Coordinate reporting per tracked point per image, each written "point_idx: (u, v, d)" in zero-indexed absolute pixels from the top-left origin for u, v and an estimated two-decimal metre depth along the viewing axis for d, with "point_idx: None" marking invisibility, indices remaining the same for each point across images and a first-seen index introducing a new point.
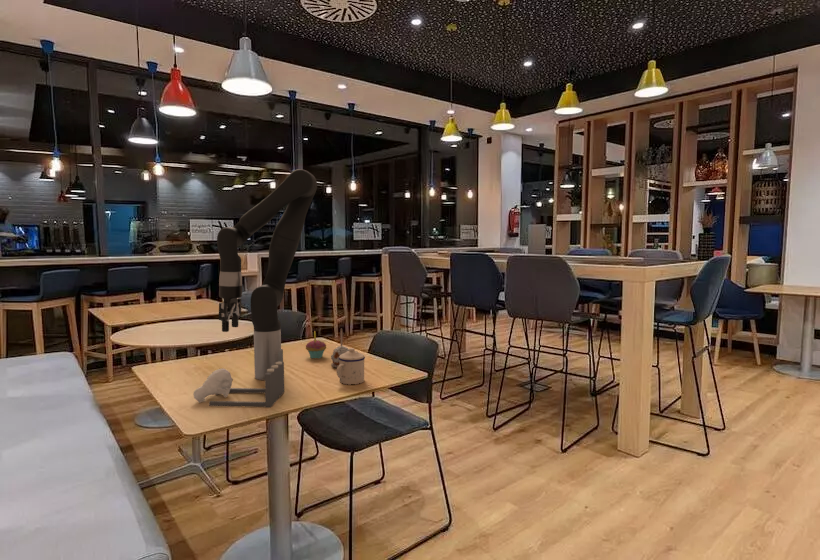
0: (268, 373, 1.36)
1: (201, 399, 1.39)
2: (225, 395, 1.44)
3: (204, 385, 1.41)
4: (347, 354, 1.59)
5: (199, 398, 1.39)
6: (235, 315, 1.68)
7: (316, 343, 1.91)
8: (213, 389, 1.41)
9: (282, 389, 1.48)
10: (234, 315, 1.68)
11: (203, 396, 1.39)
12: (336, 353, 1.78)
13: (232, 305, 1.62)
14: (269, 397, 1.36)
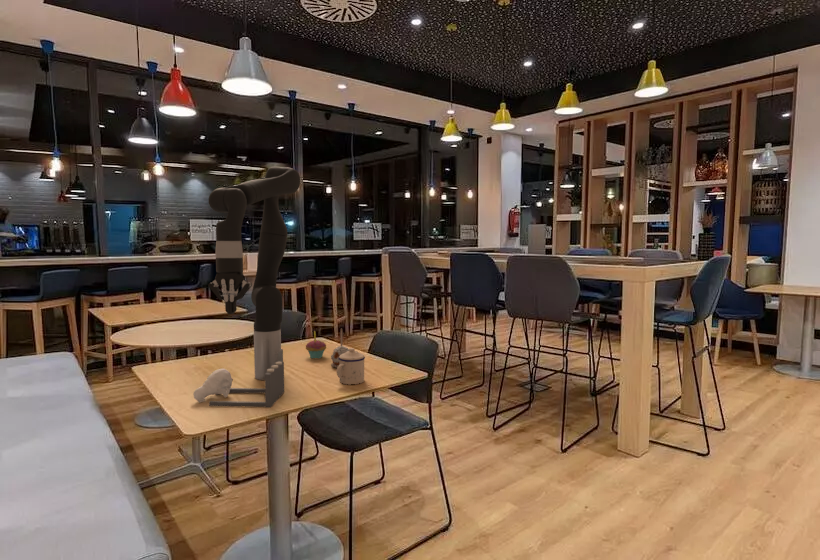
0: (268, 373, 1.36)
1: (201, 399, 1.39)
2: (225, 395, 1.44)
3: (204, 385, 1.41)
4: (347, 354, 1.59)
5: (199, 398, 1.39)
6: None
7: (316, 343, 1.91)
8: (213, 389, 1.41)
9: (282, 389, 1.48)
10: (229, 298, 1.39)
11: (203, 396, 1.39)
12: (336, 353, 1.78)
13: None
14: (269, 397, 1.36)
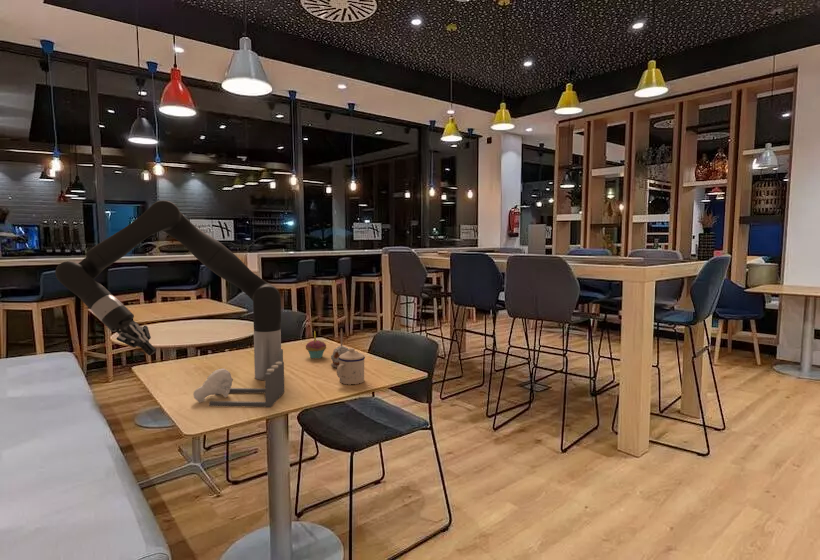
0: (268, 373, 1.36)
1: (201, 399, 1.39)
2: (225, 395, 1.44)
3: (204, 385, 1.41)
4: (347, 354, 1.59)
5: (199, 398, 1.39)
6: None
7: (316, 343, 1.91)
8: (213, 389, 1.41)
9: (282, 389, 1.48)
10: None
11: (203, 396, 1.39)
12: (336, 353, 1.78)
13: (130, 328, 1.40)
14: (269, 397, 1.36)
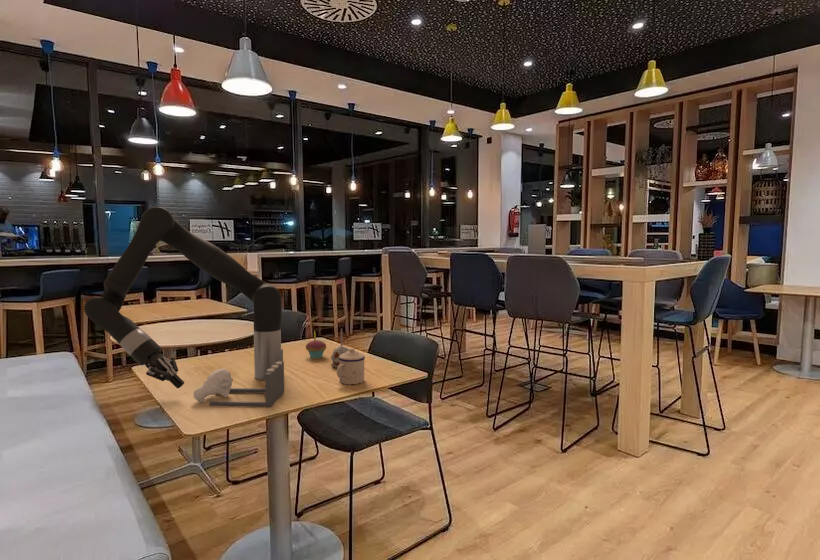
0: (268, 373, 1.36)
1: (201, 399, 1.39)
2: (225, 395, 1.44)
3: (204, 385, 1.41)
4: (347, 354, 1.59)
5: (199, 398, 1.39)
6: None
7: (316, 343, 1.91)
8: (213, 389, 1.41)
9: (282, 389, 1.48)
10: None
11: (203, 396, 1.39)
12: (336, 353, 1.78)
13: (159, 362, 1.41)
14: (269, 397, 1.36)
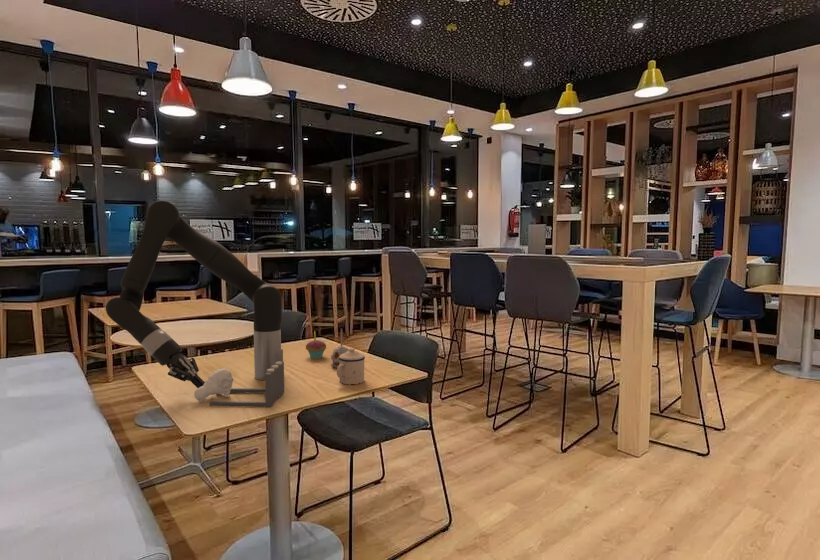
0: (268, 373, 1.36)
1: (202, 399, 1.39)
2: (226, 395, 1.44)
3: (205, 385, 1.41)
4: (347, 354, 1.59)
5: (200, 398, 1.39)
6: None
7: (316, 343, 1.91)
8: (214, 389, 1.41)
9: (282, 389, 1.48)
10: None
11: (204, 396, 1.39)
12: (336, 353, 1.78)
13: (180, 362, 1.41)
14: (269, 397, 1.36)
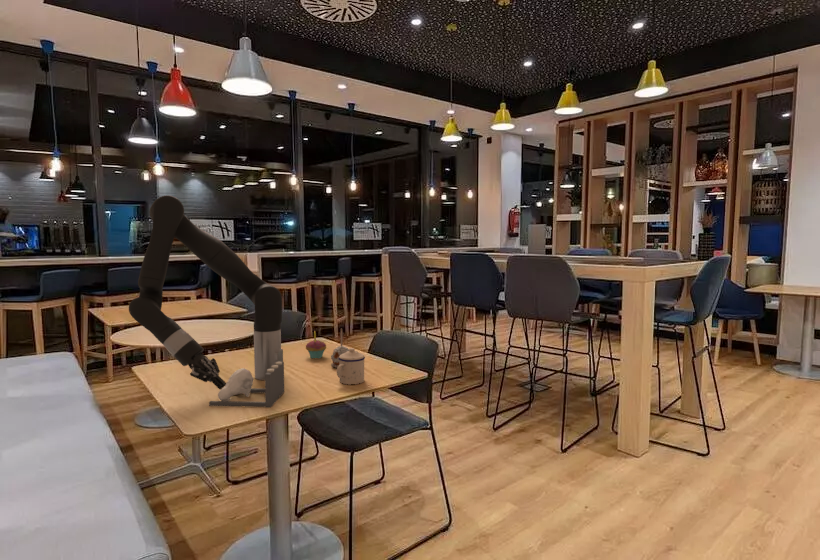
0: (268, 373, 1.36)
1: (226, 399, 1.39)
2: (247, 394, 1.45)
3: (228, 385, 1.40)
4: (347, 354, 1.59)
5: (225, 398, 1.38)
6: None
7: (316, 343, 1.91)
8: (237, 388, 1.41)
9: (282, 389, 1.48)
10: None
11: (228, 396, 1.39)
12: (336, 353, 1.78)
13: (202, 363, 1.41)
14: (269, 397, 1.36)
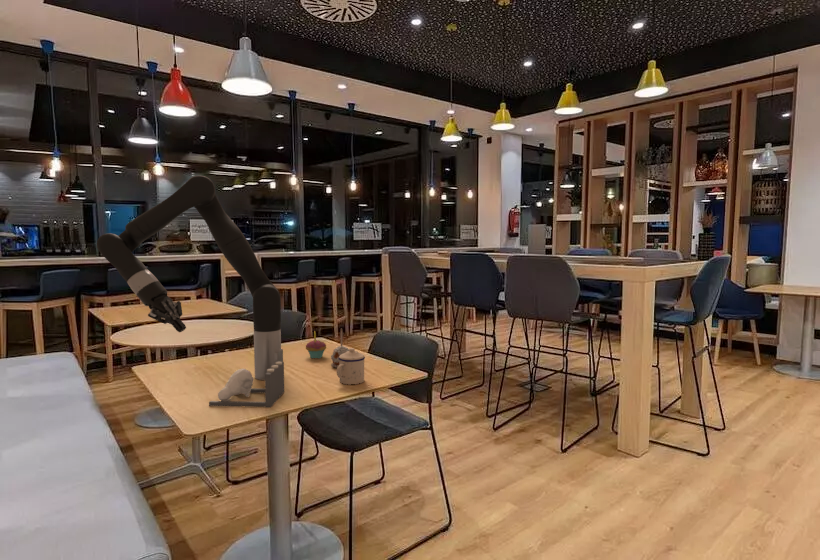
0: (268, 373, 1.36)
1: (226, 400, 1.39)
2: (247, 395, 1.45)
3: (228, 386, 1.40)
4: (347, 354, 1.59)
5: (225, 399, 1.38)
6: None
7: (316, 343, 1.91)
8: (238, 389, 1.41)
9: (282, 389, 1.48)
10: None
11: (228, 396, 1.39)
12: (336, 353, 1.78)
13: (162, 305, 1.42)
14: (269, 397, 1.36)
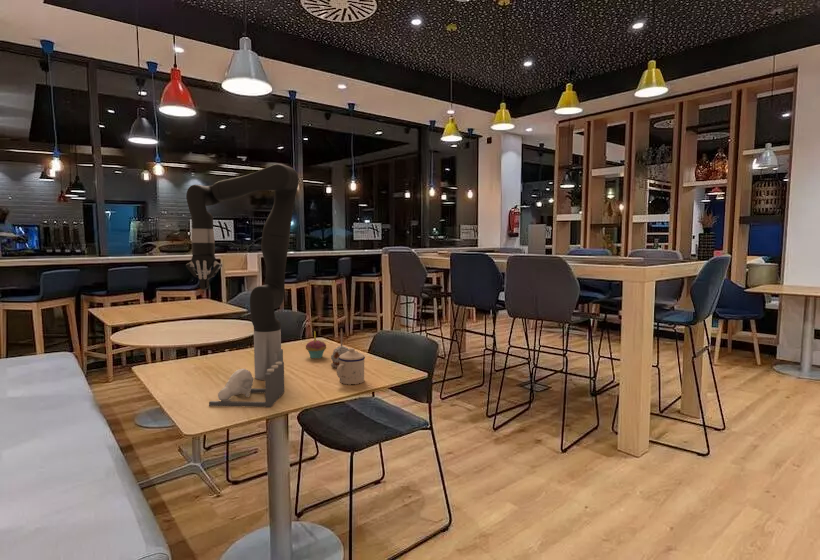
0: (268, 373, 1.36)
1: (226, 400, 1.39)
2: (247, 395, 1.45)
3: (228, 386, 1.40)
4: (347, 354, 1.59)
5: (225, 399, 1.38)
6: None
7: (316, 343, 1.91)
8: (238, 389, 1.41)
9: (282, 389, 1.48)
10: None
11: (228, 396, 1.39)
12: (336, 353, 1.78)
13: None
14: (269, 397, 1.36)
